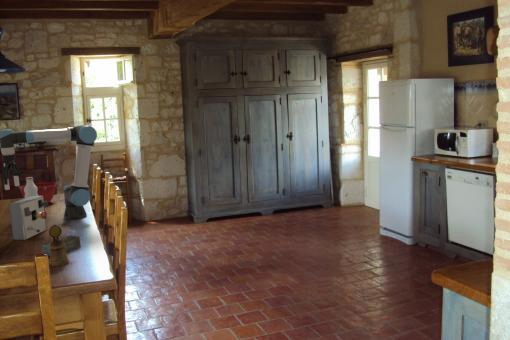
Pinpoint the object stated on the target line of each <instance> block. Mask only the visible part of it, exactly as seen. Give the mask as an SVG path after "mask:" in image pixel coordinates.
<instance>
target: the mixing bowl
mask: <svg viewBox="0 0 510 340" xmlns="http://www.w3.org/2000/svg"><path fill="white" fill-rule="evenodd" d="M34 184H35V185H36V186H37V189H38V191H37V194H38V196H43V198H44V201H47V202H48V204H49V203H50V202H51V201H52V200H53V197H54V196H55V192H56V187H57V183H56V182H37V183H34ZM25 186H26V184H23V185H21V186H18V188H19V190H20V194H21V195H22V197H23V199H24V198H25V192H24V188H25Z"/></svg>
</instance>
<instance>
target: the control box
mask: <svg viewBox="0 0 510 340" xmlns="http://www.w3.org/2000/svg"><path fill="white" fill-rule="evenodd" d="M38 202H44V198H43V196H30V197H27V198H24V197H23V198H21V199H18V200H15V201H12V202H9V203H8V209H9V218H10V224H11V225H10V226H11V234H12V240H17V241H19V240H20V241H21V240H22V241H23V240H27V239H29V238H30V239H31V238H32V237H33V236H36V235H38V234H40V233H42V232H45V231H46V230H48V225H47V218H46V219H42V218H32V215H31V213H41V212H42V211H46V209H45V208H46V207H44V206H38ZM30 226H32V228H35V229H39V230H40V232H39V233H38V232H36V231H34V230H28V227H30Z"/></svg>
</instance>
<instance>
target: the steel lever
mask: <svg viewBox="0 0 510 340" xmlns="http://www.w3.org/2000/svg"><path fill="white" fill-rule="evenodd" d="M28 230H34V231H36V232H38V234H40V233H39V232H40V230H39V229H35V228H32V226H30V227H28Z"/></svg>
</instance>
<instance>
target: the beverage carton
mask: <svg viewBox="0 0 510 340" xmlns="http://www.w3.org/2000/svg"><path fill="white" fill-rule="evenodd" d="M59 240H63V242H64V245H65V251H66V253H67V252H69V251H72V250H76V249H78V248H81V246H82V245H81V238H80V236H77V235H68V236H65V237H62V238H59ZM51 242H52V241H50V242H45V243H43V244H42V245H41V248H42V253H43V254H47V255H49V256H48V257H50V244H51ZM47 255H46V256H47Z"/></svg>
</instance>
